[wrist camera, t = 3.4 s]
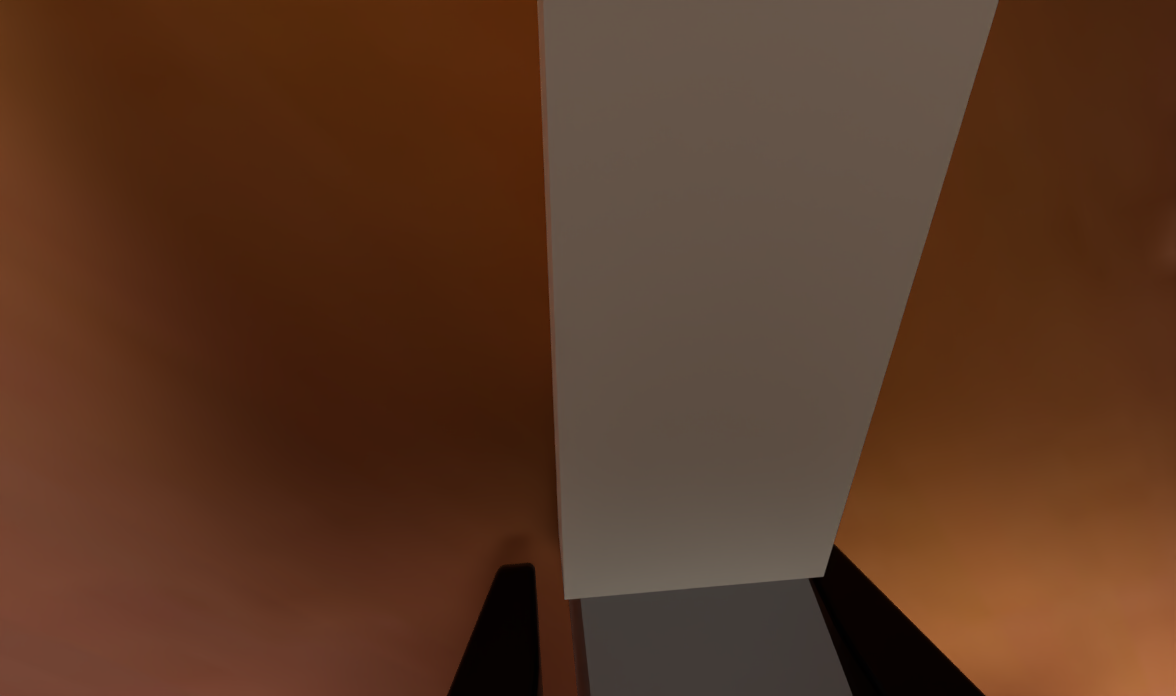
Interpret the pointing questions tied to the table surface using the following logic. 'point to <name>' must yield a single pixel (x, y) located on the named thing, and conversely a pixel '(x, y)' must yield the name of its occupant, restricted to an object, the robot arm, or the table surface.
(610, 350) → the grey mallet
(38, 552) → the table surface
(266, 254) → the table surface
